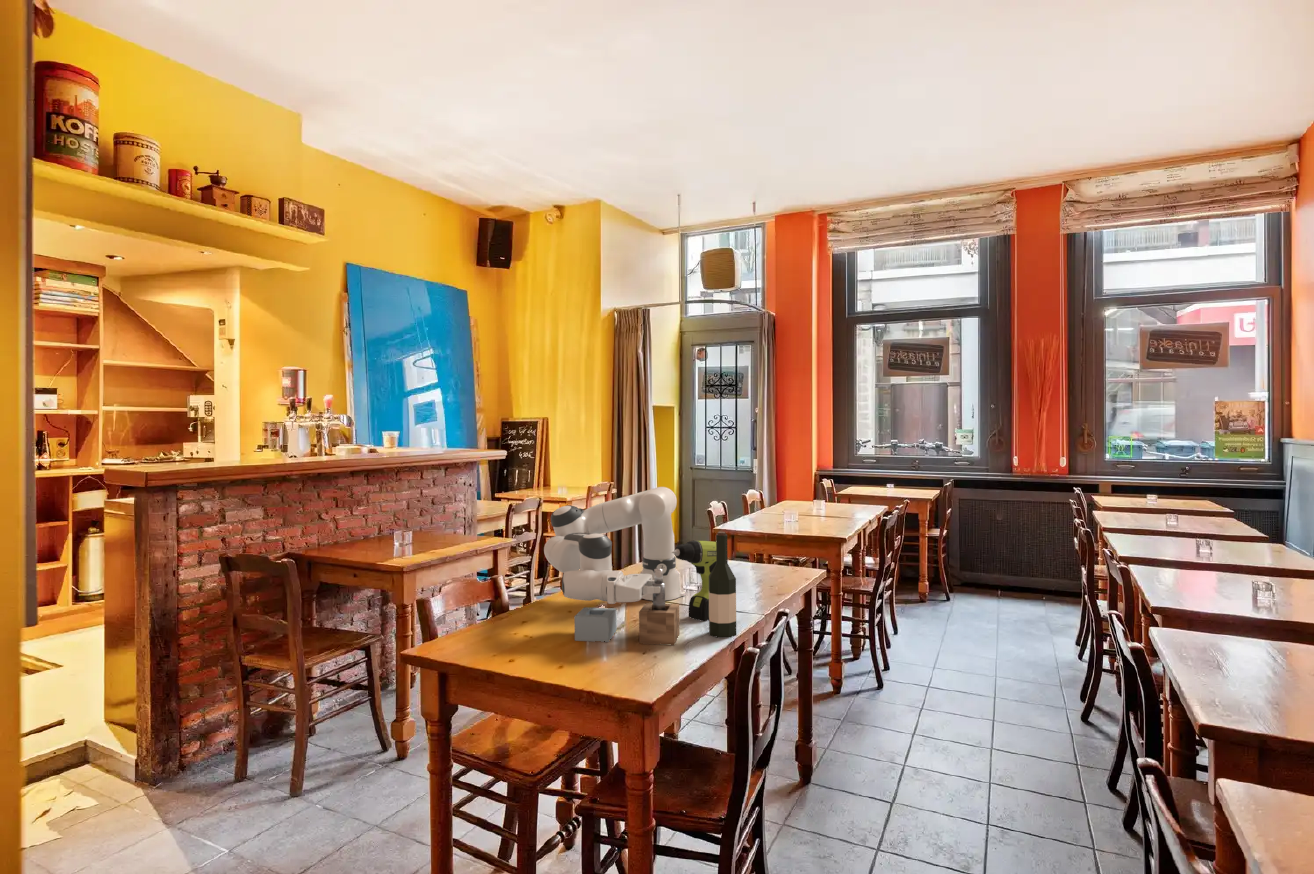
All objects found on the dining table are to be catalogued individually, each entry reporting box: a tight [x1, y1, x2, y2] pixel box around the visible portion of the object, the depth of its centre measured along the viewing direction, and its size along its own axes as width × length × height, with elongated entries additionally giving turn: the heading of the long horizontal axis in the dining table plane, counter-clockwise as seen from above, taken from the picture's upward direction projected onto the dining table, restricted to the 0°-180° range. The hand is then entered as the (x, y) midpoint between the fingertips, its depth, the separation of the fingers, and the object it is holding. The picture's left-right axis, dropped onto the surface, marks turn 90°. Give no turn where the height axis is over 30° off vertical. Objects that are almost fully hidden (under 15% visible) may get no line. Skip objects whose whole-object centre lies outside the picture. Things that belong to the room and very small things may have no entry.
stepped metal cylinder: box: [652, 568, 666, 611], centre depth 203 cm, size 4×4×16 cm
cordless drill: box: [672, 540, 716, 622], centre depth 224 cm, size 23×7×25 cm, turn 134°
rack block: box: [638, 602, 680, 646], centre depth 203 cm, size 10×10×9 cm
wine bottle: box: [708, 531, 737, 638], centre depth 208 cm, size 8×8×30 cm
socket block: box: [574, 606, 618, 643], centre depth 207 cm, size 10×10×7 cm
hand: (662, 587), depth 203 cm, fingers open, 4 cm apart
